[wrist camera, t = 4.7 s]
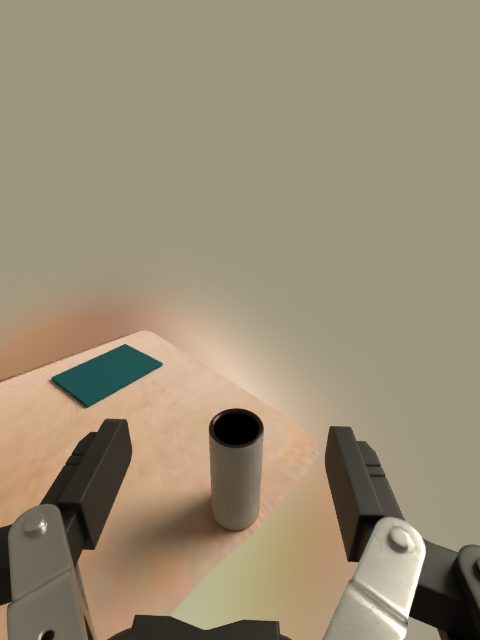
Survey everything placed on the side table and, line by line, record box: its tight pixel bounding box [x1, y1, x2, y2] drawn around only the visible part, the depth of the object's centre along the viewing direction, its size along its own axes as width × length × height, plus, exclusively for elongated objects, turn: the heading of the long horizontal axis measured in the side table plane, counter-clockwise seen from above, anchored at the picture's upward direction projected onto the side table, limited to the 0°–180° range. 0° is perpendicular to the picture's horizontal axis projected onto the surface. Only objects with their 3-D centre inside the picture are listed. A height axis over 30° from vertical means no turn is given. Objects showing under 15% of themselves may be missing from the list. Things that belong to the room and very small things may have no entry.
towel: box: [52, 344, 162, 407], centre depth 51 cm, size 13×10×1 cm
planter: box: [209, 408, 264, 530], centre depth 29 cm, size 4×4×10 cm
